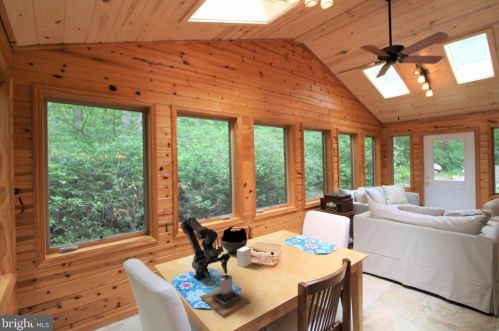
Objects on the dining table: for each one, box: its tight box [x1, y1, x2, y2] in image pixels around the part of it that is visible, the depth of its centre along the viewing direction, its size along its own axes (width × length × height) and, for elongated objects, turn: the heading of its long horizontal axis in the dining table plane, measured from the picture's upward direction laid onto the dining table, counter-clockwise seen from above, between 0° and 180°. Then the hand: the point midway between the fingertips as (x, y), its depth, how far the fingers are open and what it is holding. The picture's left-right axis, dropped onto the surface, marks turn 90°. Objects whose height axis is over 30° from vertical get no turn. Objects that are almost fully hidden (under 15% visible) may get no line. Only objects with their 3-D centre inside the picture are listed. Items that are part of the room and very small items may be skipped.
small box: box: [236, 246, 252, 268], centre depth 165 cm, size 8×6×10 cm
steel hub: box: [219, 274, 234, 303], centre depth 122 cm, size 6×6×11 cm
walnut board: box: [199, 287, 251, 318], centre depth 123 cm, size 20×16×3 cm
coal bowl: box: [220, 226, 248, 254], centre depth 187 cm, size 20×20×19 cm
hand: (218, 276), depth 128 cm, fingers open, 9 cm apart
